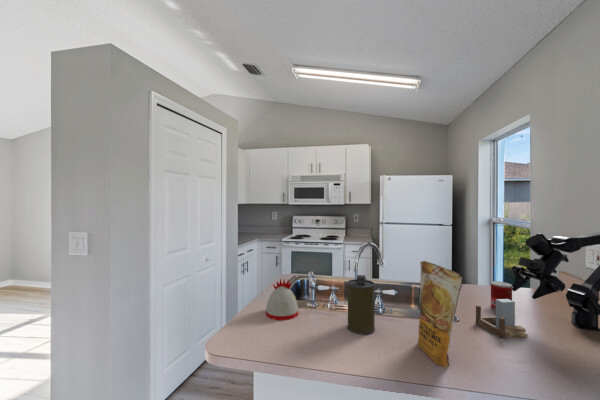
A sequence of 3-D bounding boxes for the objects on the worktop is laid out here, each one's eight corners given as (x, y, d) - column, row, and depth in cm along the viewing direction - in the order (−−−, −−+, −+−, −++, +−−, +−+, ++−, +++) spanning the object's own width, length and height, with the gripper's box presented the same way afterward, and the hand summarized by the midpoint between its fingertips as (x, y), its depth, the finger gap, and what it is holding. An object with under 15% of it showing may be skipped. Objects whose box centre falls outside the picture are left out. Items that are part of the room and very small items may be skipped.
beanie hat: (297, 320, 117) (297, 283, 117) (263, 320, 117) (264, 283, 117) (298, 307, 131) (298, 274, 131) (268, 307, 131) (268, 274, 131)
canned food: (511, 312, 126) (511, 287, 126) (490, 308, 131) (490, 283, 131) (512, 307, 132) (512, 283, 132) (491, 303, 137) (491, 280, 137)
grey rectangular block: (507, 327, 111) (507, 298, 111) (514, 331, 108) (514, 301, 108) (495, 328, 110) (495, 299, 110) (502, 331, 107) (502, 302, 107)
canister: (375, 336, 104) (376, 280, 104) (346, 333, 106) (346, 278, 106) (374, 323, 114) (374, 273, 114) (347, 321, 116) (347, 271, 116)
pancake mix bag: (429, 339, 101) (429, 259, 101) (464, 371, 82) (464, 273, 82) (410, 340, 101) (410, 259, 101) (442, 372, 82) (442, 273, 82)
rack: (503, 321, 116) (503, 304, 116) (532, 337, 103) (532, 317, 103) (475, 323, 115) (475, 305, 115) (501, 338, 102) (501, 318, 102)
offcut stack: (519, 333, 106) (519, 324, 106) (528, 337, 103) (528, 329, 103) (502, 333, 105) (502, 325, 105) (510, 338, 102) (510, 330, 102)
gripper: (513, 246, 120) (489, 274, 120) (555, 254, 102) (528, 288, 101) (532, 263, 121) (509, 291, 120) (577, 274, 102) (550, 308, 102)
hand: (522, 294), depth 111 cm, fingers open, 9 cm apart
